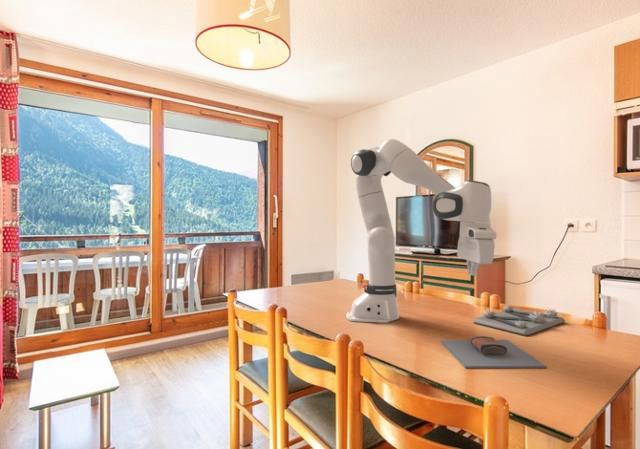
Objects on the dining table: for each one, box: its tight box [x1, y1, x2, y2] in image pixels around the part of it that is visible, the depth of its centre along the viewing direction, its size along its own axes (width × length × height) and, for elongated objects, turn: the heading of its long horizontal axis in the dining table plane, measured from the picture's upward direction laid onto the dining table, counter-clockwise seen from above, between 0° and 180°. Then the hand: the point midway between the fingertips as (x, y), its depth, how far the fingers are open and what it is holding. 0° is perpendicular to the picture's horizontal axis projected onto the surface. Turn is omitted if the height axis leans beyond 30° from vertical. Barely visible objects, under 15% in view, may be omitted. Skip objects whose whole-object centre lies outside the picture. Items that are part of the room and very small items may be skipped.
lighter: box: [469, 335, 507, 355], centre depth 112 cm, size 8×3×10 cm
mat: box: [440, 339, 547, 369], centre depth 110 cm, size 22×22×1 cm
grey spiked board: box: [472, 303, 566, 337], centre depth 142 cm, size 30×22×7 cm
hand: (472, 275), depth 114 cm, fingers closed
